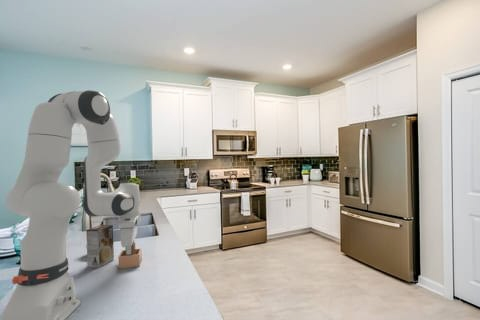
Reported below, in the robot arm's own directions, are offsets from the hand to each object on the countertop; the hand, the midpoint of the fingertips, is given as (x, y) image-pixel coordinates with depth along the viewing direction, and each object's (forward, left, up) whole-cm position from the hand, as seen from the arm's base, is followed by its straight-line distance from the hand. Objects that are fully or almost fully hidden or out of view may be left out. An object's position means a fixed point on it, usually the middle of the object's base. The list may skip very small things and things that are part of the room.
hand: (130, 250), depth 113 cm
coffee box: (+5, +13, -6) cm, 15 cm away
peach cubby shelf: (0, 0, -6) cm, 6 cm away
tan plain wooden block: (0, 0, -5) cm, 5 cm away
